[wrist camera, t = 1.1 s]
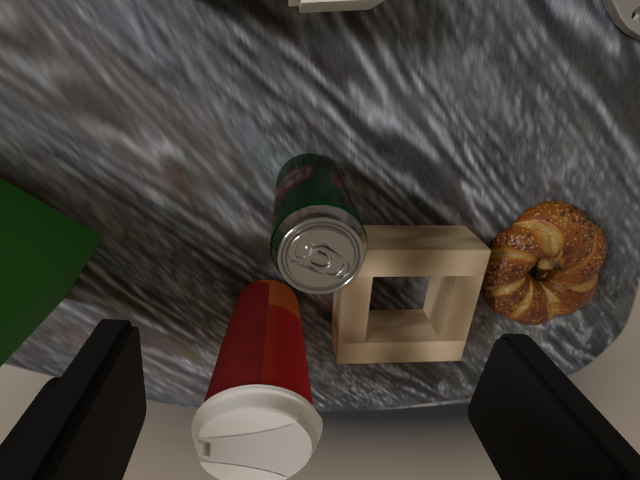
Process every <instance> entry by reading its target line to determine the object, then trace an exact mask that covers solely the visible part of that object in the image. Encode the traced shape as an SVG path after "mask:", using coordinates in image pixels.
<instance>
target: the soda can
mask: <svg viewBox="0 0 640 480" xmlns="http://www.w3.org/2000/svg"><path fill="white" fill-rule="evenodd" d="M367 246H368V243H367V236H366V232H365V229H364V227H363V225H362V223H361V220H360V218H359V216H358V214H357V211H356V209H355V207H354V204H353V202H352V200H351V198H350V195H349V193H348V191H347V189H346V186H345V184H344V182H343V180H342V177H341V175H340V173H339V171H338V169H337V167H336V166H335V165H334V164H333V163H332V162H331V161H330V160H329V159H327V158H325V157H324V156H321V155H318V154H302V155H298V156H296V157H294V158H292V159H290V160H289V161H288V162H287V163H286V164H284V166H283V167H282V168H281V170H280V172H279V174H278V177H277V182H276V192H275V202H274V212H273V222H272V232H271V242H270V252H271V257H272V260H273V263H274V265H275V267H276V269H277V270H278V271H279V273H280V274H281V275H282V276H283V278H284V279H285V280H286V281H287V282H288V283H289V284H290V285H291V286H292V287H294V288H296V289H297V290H299V291H302V292H305V293H308V294H315V295H323V294H329V293H333V292H336V291H338V290H341V289H343V288H344V287H346V286H347V285H349V284H350V283H351V282H352V281H353V280H354V279H355V278H356V276H357V275H358V274H359V272H360V270H361V268H362V265H363V262H364V259H365V257H366V253H367Z"/></svg>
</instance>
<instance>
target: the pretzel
mask: <svg viewBox="0 0 640 480" xmlns="http://www.w3.org/2000/svg"><path fill="white" fill-rule="evenodd" d="M606 242H607V240H606V238H605V237H604V234H603V233H602V231H601V229H599V228H598V227H597V225H596V224H595V223H593V222H592V221H590V219H588V218H587V216H586V215H585V214H583V211H581V210H580V209H577V208H576V207H574V206H573V205H572V204H568V203H565V202H563V201H547V202H543V203H540V204H537V205H535V206H533V207H531V208H529V209H527V210H526V211H524V212H523V213H522V214H521V215H520V216H519V217H518V218H517V219H516V220H515V222H514V223H513V225H512V226H511V227H508V228H506V229H504V230H502V231H500V232H499V233H498V234H497V235H496V236H495V238H494V239H493V241H492V242H491V247H490V249H491V253H490V257H489V260H488V264H487V267H486V271H485V275H484V278H483V282H482V286H483V288H484V289H486V291H485V299H486V300H485V301H486V302H487V303H488V305H489V306H490V307H491V308H492V309H493V310H494V311H495V312H498V313H500V314H502V315H503V316H506V317H509V318H511V319H513V320H515V321H517V322H520V323H523V324H524V325H539V324H542V323H546V322H547V321H550V320H551V319H552V318H553V317H554V315H555V314H556V313H557V314H565V315H570V314H571V313H573V312H575V311H577V310H578V309H580V308H581V307H583V306H584V305H586V304H587V302H588V301H591V299H592V298H593V296H595V292H596V290H597V288H598V286H597V285H598V272H599V269H600V267H601V265H602V264H603V263H604V260H605V256H606V253H607V250H608V248H607V247H608V246H607V243H606ZM533 266H534V268H535V269H536V270H537V271H538V272H535V273H534V275H533V276H531V274H530V273H529V272H528V271H529V270H530V269H531V268H532V267H533Z"/></svg>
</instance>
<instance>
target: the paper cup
mask: <svg viewBox="0 0 640 480" xmlns="http://www.w3.org/2000/svg"><path fill="white" fill-rule="evenodd" d="M322 428H323V425H322V418H321V417H320V416H319V414H318V413H317V411H316V410H315V408H314V407H313V403H312V396H311V389H310V381H309V374H308V366H307V359H306V351H305V344H304V337H303V329H302V323H301V316H300V310H299V304H298V300H297V297H296V295H295V293H294V291H293V290H292V289H291V288H290V287H289V286H288V285H286V284H285V283H283V282H280V281H277V280H273V279H262V280H257V281H254V282H252V283H250V284H249V285H247V286H246V287H245V288H244V289H243V290H242V291H241V293H240V294H239V296H238V299H237V301H236V304H235V307H234V310H233V313H232V316H231V319H230V322H229V325H228V328H227V331H226V333H225V336H224V339H223V342H222V345H221V348H220V352H219V355H218V359H217V362H216V366H215V369H214V372H213V375H212V378H211V381H210V385H209V388H208V391H207V394H206V397H205V400H204V403H203V404H202V405H201V406H200V407H199V409H198V410H197V412H196V413H195V415H194V418H193V421H192V427H191V431H192V437H193V440H194V443H195V445H196V449H197V451H198V453H197V455H198V461H199V463H200V464H201V466H202V467H203V468H204V469H205V470H206V471H207V472H208V473H210V474H211V475H212V476H214V477H216V478H218V479H220V480H285V479H287V478H289V477H290V476H292V475H294V474H295V473H296V472H298V471H299V470H300V469H302V468H303V467H304V466H305V464H306V463H307V462H308V460H309V458H310V456H311V455H312V454H313V453H314V452H315V450H316V447H317V443H318V440H319V439H320V437H321V434H322Z"/></svg>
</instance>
